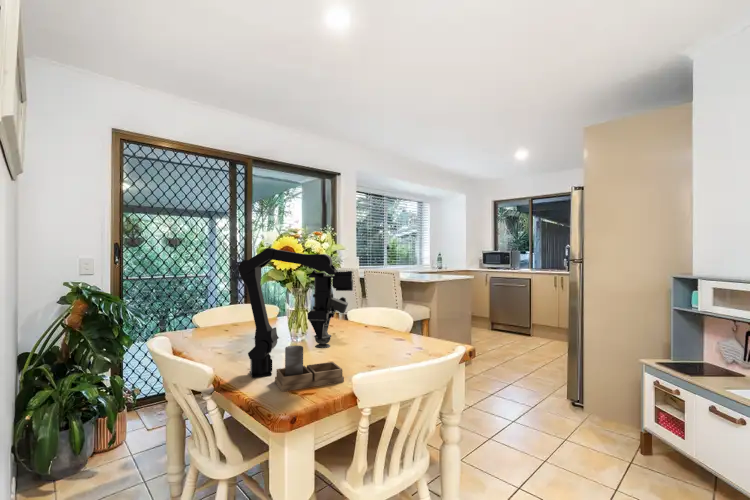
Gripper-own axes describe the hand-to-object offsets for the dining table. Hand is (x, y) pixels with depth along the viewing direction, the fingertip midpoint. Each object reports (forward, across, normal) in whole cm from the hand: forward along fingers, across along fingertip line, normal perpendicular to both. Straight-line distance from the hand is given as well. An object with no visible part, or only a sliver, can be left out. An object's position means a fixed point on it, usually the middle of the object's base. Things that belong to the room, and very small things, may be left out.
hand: (322, 336), depth 129 cm
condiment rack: (+13, -7, +3) cm, 15 cm away
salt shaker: (+4, 0, 0) cm, 4 cm away
